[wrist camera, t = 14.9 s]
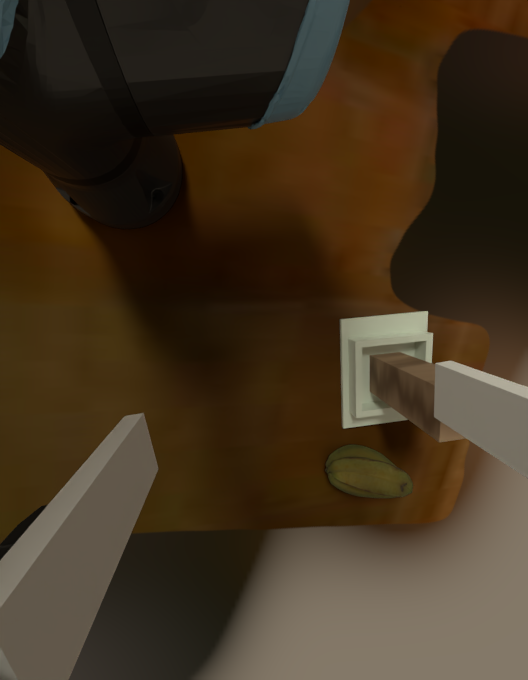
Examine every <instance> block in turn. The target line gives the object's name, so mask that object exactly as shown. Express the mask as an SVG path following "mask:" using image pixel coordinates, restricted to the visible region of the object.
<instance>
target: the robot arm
mask: <svg viewBox="0 0 528 680" xmlns="http://www.w3.org/2000/svg"><path fill="white" fill-rule="evenodd" d="M349 1H350V0H0V145H2V146H4V147H5V148H7V149H9V150H10V151H12V152H13V153H15V154H17V155H18V156H20V157H22V158H23V159H25V160H26V161H28V162H30V163H31V164H33V165H35V166H36V167H38V168H40V169H41V170H42V171H43V172H44V173H45V174H46V176H47V177H48V178H49V180H50V181H51V182H52V184H53V185H54V186H55V187H56V189H57V190H58V191H59V193H60V194H61V195H62V196H63V197H64V198H65V199H66V200H67V201H68V202H69V203H70V204H71V205H72V206H73V207H75V208H76V209H77V210H79V211H80V212H81V213H83V214H85V215H86V216H88V217H90V218H92V219H94V220H96V221H98V222H100V223H102V224H105V225H107V226H111V227H115V228H121V229H134V228H140V227H144V226H147V225H150V224H152V223H154V222H156V221H157V220H159V219H160V218H161V217H163V216H164V215H165V214H166V213H167V212H168V211H169V209H170V208H171V207H172V205H173V204H174V202H175V200H176V198H177V196H178V194H179V191H180V187H181V182H182V161H181V155H180V151H179V148H178V145H177V143H176V140H175V138H174V135H173V134H183V133H193V132H203V131H213V130H223V129H233V128H243V127H248V128H249V129H257V128H259V127H261V126H262V125H263V124H267V123H272V122H278V121H284V120H289V119H293V118H295V117H297V116H298V115H300V114H301V113H302V112H303V111H304V110H305V109H306V108H307V106H308V105H309V104H310V102H311V101H312V100H313V99H314V98H315V96H316V95H317V93H318V91H319V90H320V88H321V86H322V84H323V82H324V79H325V77H326V75H327V73H328V70H329V68H330V65H331V62H332V60H333V57H334V54H335V51H336V48H337V45H338V42H339V38H340V35H341V32H342V28H343V24H344V21H345V17H346V13H347V9H348V5H349ZM434 417H435V418H436V419H438V420H439V421H441V422H442V423H444V424H445V425H447V426H448V427H450V428H451V429H453V430H454V431H456V432H457V433H459V434H461V435H462V436H464V437H465V438H467V439H468V440H470V441H471V442H473V443H474V444H476V445H477V446H479V447H480V448H482V449H483V450H485V451H487V452H488V453H489V454H491V455H493V456H494V457H496V458H497V459H499V460H500V461H502V462H503V463H505V464H506V465H508V466H509V467H511V468H512V469H514V470H515V471H517V472H519V473H520V474H522V475H523V476H525V477H526V478H528V387H526V386H523V385H520V384H517V383H514V382H511V381H508V380H505V379H502V378H500V377H497V376H493V375H491V374H488V373H485V372H482V371H479V370H476V369H473V368H470V367H467V366H465V365H462V364H459V363H456V362H453V361H446V362H440V363H435V395H434ZM157 471H158V466H157V462H156V458H155V455H154V451H153V447H152V443H151V439H150V436H149V432H148V428H147V424H146V421H145V417H144V413H141V414H135V415H129V416H124V418H123V419H122V420H121V421H120V422H119V423H118V424H117V426H116V427H115V428H114V429H113V430H112V431H111V433H110V434H109V435H108V436H107V437H106V438H105V440H104V441H103V442H102V443H101V444H100V445H99V447H98V448H97V449H96V450H95V451H94V452H93V453H92V455H91V456H90V457H89V458H88V459H87V460H86V462H85V463H84V464H83V465H82V466H81V467H80V469H79V470H78V471H77V472H76V473H75V474H74V475H73V477H72V478H71V479H70V480H69V481H68V482H67V484H66V485H65V486H64V487H63V488H62V489H61V491H60V492H59V493H58V494H57V495H56V496H55V498H54V499H53V500H52V501H51V502H50V503H49V504H48V505H45V506H41V507H40V508H39V509H37V510H36V511H35V512H34V513H32V514H31V515H30V516H29V517H27V518H26V519H25V520H24V521H22V522H21V523H20V524H18V526H17V527H16V528H15V529H14V530H13V531H12V532H11V533H10V534H9V535H8V536H7V538H6V539H5V540H4V541H3V542H2V543H1V544H0V680H69V677H70V675H71V672H72V670H73V668H74V665H75V663H76V661H77V658H78V656H79V654H80V651H81V649H82V646H83V644H84V642H85V639H86V637H87V635H88V633H89V630H90V628H91V626H92V623H93V621H94V618H95V616H96V614H97V611H98V609H99V607H100V604H101V602H102V600H103V597H104V595H105V593H106V591H107V588H108V586H109V583H110V581H111V579H112V576H113V574H114V572H115V569H116V567H117V565H118V562H119V560H120V558H121V555H122V553H123V551H124V548H125V546H126V544H127V541H128V539H129V537H130V534H131V532H132V530H133V527H134V525H135V523H136V520H137V518H138V516H139V513H140V511H141V509H142V506H143V504H144V501H145V499H146V497H147V494H148V492H149V490H150V487H151V485H152V483H153V480H154V478H155V476H156V473H157Z"/></svg>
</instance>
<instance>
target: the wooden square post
mask: <svg viewBox="0 0 528 680" xmlns="http://www.w3.org/2000/svg"><path fill="white" fill-rule="evenodd" d="M370 392H371V393H373V394H374V395H375V396H377V397H378V398H379V399H381V400H382V401H383V402H385V403H386V404H388V405H389V406H390V407H392V408H393V409H394V410H396V411H397V412H398V413H400V414H401V415H403V416H404V417H405V418H407V419H408V420H409V421H411V422H412V423H414V424H415V425H416V426H418V427H419V428H420V429H422V430H423V431H424V432H426V433H427V434H429V435H430V436H431V437H433V438H434V439H435V440H437V441H438V442H445V441H452V440H459V439H465V437H464V436H462V435H461V434H459V433H457V432H456V431H454V430H453V429H451V428H450V427H448V426H447V425H445V424H444V423H442V422H441V421H439V420H438V419H436V418H435V417H434V395H435V364H432V363H429V362H426V361H424V360H421V359H418V358H415V357H412V356H409V355H407V354H404V353H401V352H395V353H386V354H377V355H370Z"/></svg>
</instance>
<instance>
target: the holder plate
mask: <svg viewBox="0 0 528 680" xmlns="http://www.w3.org/2000/svg"><path fill="white" fill-rule="evenodd" d="M427 323H428V311H420V312H410V313H399V314H389V315H378V316H368V317H357V318H347V319H340V360H341V405H342V427H343V429H344V428H352V427H359V426H366V425H374V424H381V423H388V422H396V421H403V420H408V419H407V418H405V417H404V416H403V415H401V414H400V413H398V412H397V411H396V410H394V409H393V408H392V407H390V406H389V405H388V404H386V403H385V402H383V401H382V400H381V399H379V398H378V397H377V396H375V395H374V394H373V393H371V392H370V355H377V354H386V353H395V352H401V353H404V354H407V355H409V356H412V357H415V358H418V359H421V360H424V361H426V362H429V363H432V345H433V333H429V332H427Z"/></svg>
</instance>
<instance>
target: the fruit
mask: <svg viewBox="0 0 528 680" xmlns="http://www.w3.org/2000/svg"><path fill="white" fill-rule="evenodd" d="M325 465H326V469H325V472H326V473H327V474H328V478H329V481H330V483H331V484H332V485H333V486H335V487H336V488H338V489H339V490H341V491H343V492H345V493H348V494H351V495H355V496H360V497H368V498H395V497H404V496H407V495H408V494H410V493H412V489H413V483H412V480H411V478H410V477H409V475H408V474H407V473H406V472H405V471H403V470H401V469H400V468H398V467H396V466H395V465H394V464H393V463H392V462H391V461H390V460H389V459H387V458H386V457H385V456H384V455H382V454H381V453H379V452H377V451H375V450H373V449H371V448H368V447H366V446H361V445H346V446H343V447H340V448H339V449H337V450H336V451H334V452H333V453H332V454H330V455H329V457H328V459H327V461H326V464H325Z"/></svg>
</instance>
